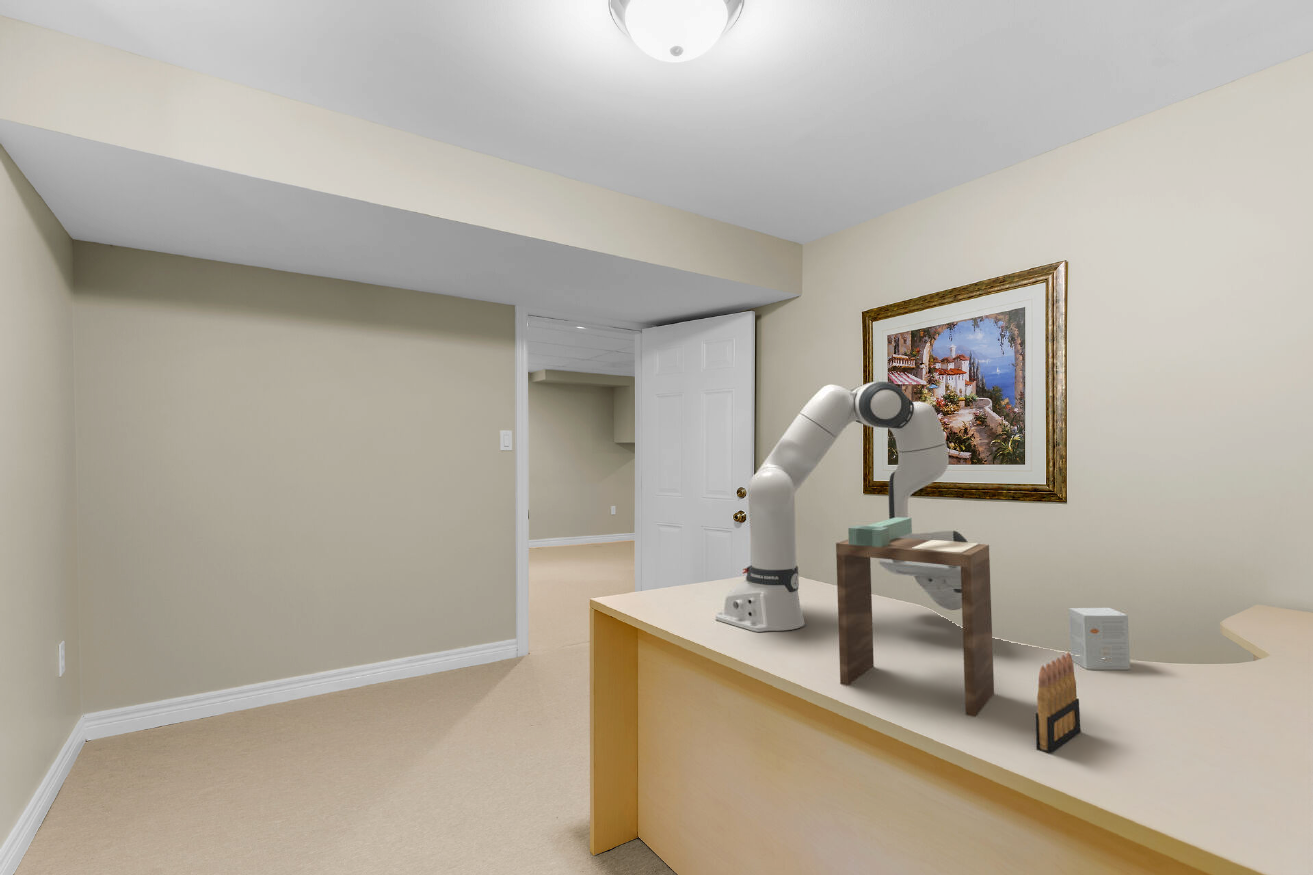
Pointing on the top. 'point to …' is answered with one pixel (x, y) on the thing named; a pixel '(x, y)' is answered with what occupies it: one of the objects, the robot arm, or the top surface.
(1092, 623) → the small box
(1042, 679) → the ammunition clip
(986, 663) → the walnut shelf
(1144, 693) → the top surface
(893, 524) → the sage lever
